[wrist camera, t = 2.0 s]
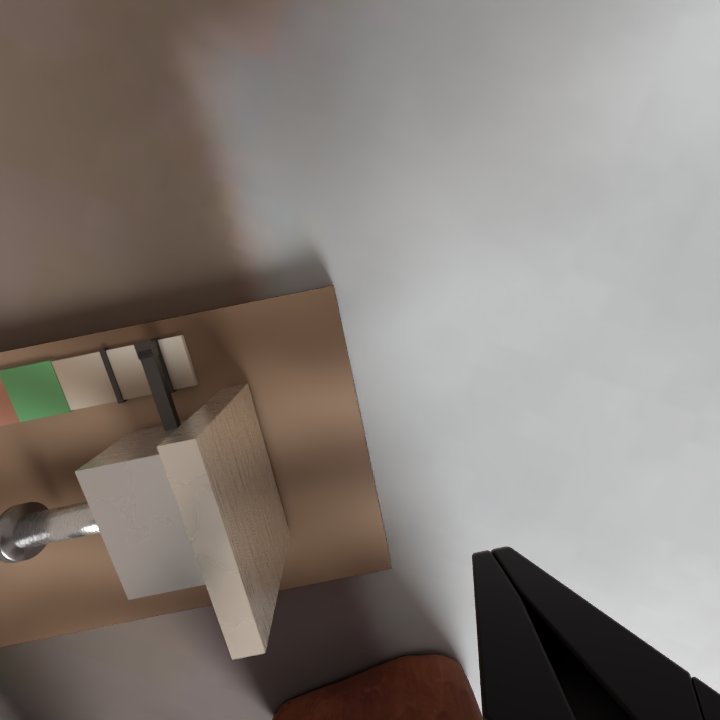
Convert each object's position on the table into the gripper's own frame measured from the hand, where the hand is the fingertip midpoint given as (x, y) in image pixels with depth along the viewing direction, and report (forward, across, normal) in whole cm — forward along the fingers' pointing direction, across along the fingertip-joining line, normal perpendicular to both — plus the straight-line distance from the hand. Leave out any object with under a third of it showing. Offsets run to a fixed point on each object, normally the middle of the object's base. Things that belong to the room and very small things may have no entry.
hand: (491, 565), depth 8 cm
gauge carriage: (+7, +11, -1) cm, 13 cm away
